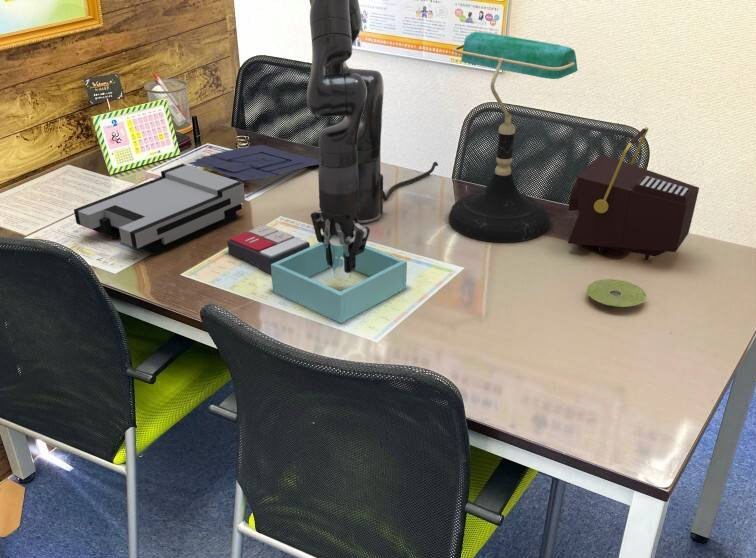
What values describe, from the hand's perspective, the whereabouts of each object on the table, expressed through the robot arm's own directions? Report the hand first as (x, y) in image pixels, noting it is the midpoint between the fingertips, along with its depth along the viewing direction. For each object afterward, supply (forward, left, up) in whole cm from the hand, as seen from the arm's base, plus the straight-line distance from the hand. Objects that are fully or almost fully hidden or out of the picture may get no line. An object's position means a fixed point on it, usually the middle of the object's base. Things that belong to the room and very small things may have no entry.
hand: (340, 267), depth 171 cm
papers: (-34, -63, -5) cm, 72 cm away
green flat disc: (-33, +43, -5) cm, 54 cm away
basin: (0, 0, -5) cm, 5 cm away
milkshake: (0, 0, -3) cm, 3 cm away
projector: (-55, +33, -5) cm, 64 cm away
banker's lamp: (-49, +4, -5) cm, 49 cm away
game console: (+5, -51, -5) cm, 52 cm away
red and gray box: (-1, -22, -5) cm, 23 cm away
